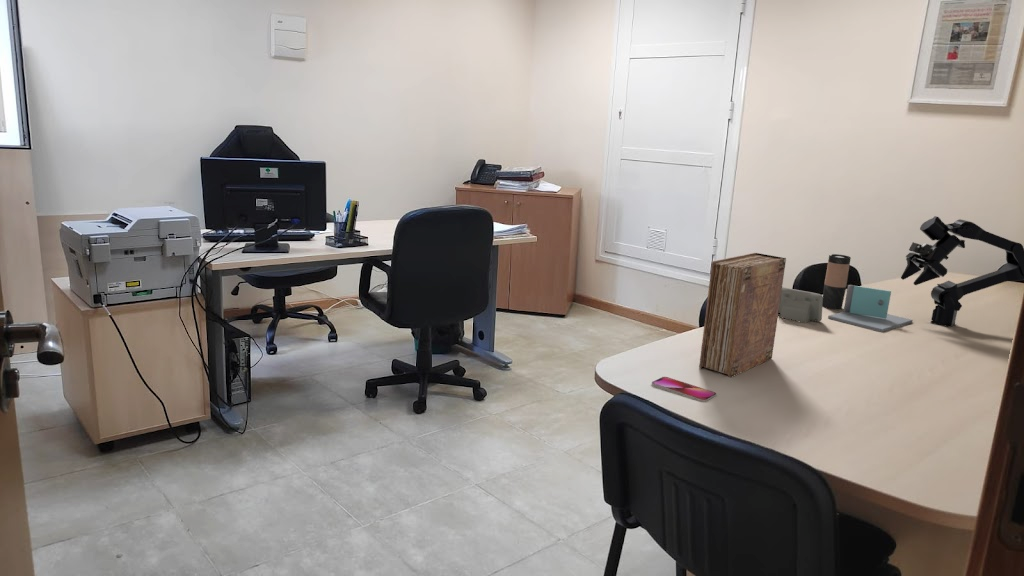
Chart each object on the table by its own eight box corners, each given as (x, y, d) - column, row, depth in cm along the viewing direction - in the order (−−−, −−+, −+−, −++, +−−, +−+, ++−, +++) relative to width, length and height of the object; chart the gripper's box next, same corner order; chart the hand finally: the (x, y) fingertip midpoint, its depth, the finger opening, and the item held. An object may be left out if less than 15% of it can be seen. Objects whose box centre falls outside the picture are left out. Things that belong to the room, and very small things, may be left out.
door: (842, 312, 256) (847, 285, 254) (843, 310, 259) (848, 284, 257) (885, 319, 249) (890, 292, 247) (886, 317, 252) (891, 290, 250)
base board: (912, 322, 253) (913, 314, 252) (881, 332, 238) (883, 323, 237) (858, 309, 267) (860, 302, 267) (826, 318, 253) (828, 310, 252)
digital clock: (823, 322, 247) (828, 293, 244) (810, 326, 241) (815, 296, 239) (781, 311, 259) (785, 283, 256) (768, 314, 253) (772, 286, 251)
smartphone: (704, 400, 168) (650, 382, 178) (704, 404, 168) (649, 386, 178) (718, 393, 174) (664, 375, 183) (717, 396, 174) (664, 379, 183)
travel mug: (846, 310, 266) (854, 258, 261) (825, 309, 266) (834, 257, 261) (837, 305, 273) (845, 254, 268) (817, 304, 273) (825, 253, 268)
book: (729, 378, 186) (743, 267, 179) (698, 368, 192) (711, 261, 185) (772, 358, 204) (786, 257, 197) (742, 350, 210) (755, 252, 203)
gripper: (912, 230, 255) (880, 262, 259) (939, 238, 237) (904, 272, 240) (933, 250, 256) (901, 281, 260) (962, 259, 238) (927, 293, 242)
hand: (907, 281), depth 250 cm, fingers open, 9 cm apart
